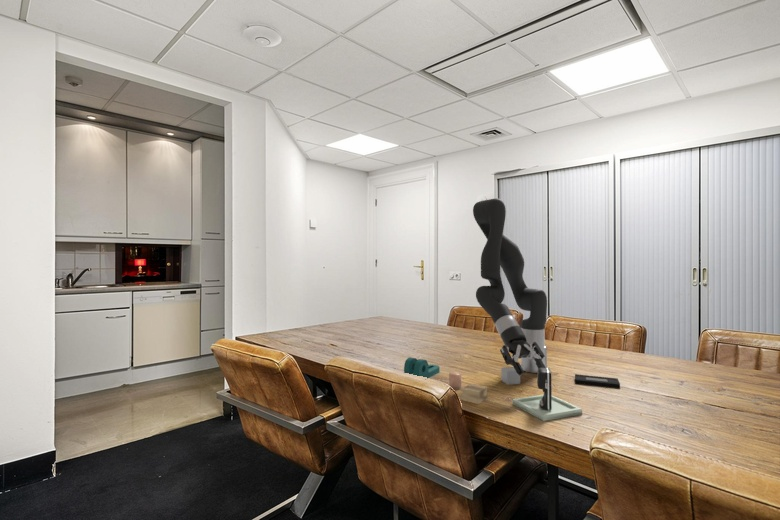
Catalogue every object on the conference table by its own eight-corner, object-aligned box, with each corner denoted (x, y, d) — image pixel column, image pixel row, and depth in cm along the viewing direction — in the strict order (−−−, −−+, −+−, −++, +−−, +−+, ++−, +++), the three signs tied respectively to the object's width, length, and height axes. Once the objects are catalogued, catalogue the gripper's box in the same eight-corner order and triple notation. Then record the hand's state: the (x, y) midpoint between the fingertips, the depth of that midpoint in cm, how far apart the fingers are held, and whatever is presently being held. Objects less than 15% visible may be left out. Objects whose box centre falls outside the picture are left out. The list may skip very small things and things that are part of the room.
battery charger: (536, 401, 127) (536, 365, 127) (549, 403, 126) (549, 366, 126) (538, 410, 120) (537, 371, 120) (551, 411, 119) (551, 372, 119)
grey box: (513, 379, 153) (513, 366, 153) (520, 384, 148) (520, 370, 148) (501, 380, 152) (501, 367, 152) (507, 384, 147) (507, 371, 147)
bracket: (419, 383, 150) (419, 361, 150) (404, 379, 154) (404, 359, 154) (442, 371, 165) (442, 352, 165) (428, 369, 169) (428, 350, 169)
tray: (548, 398, 132) (548, 393, 132) (582, 414, 119) (582, 408, 119) (512, 404, 128) (512, 399, 128) (543, 421, 114) (543, 415, 114)
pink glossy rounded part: (457, 384, 147) (457, 371, 147) (463, 388, 143) (463, 374, 143) (446, 386, 146) (446, 372, 146) (452, 390, 142) (452, 375, 142)
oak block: (470, 395, 136) (470, 383, 136) (487, 399, 133) (486, 387, 133) (461, 400, 132) (461, 388, 132) (478, 404, 128) (478, 392, 128)
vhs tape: (574, 379, 154) (574, 374, 154) (617, 383, 148) (617, 378, 148) (575, 385, 147) (575, 379, 147) (620, 390, 142) (620, 384, 142)
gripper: (497, 326, 136) (520, 369, 125) (531, 323, 141) (556, 364, 130) (488, 339, 141) (509, 381, 130) (521, 335, 146) (544, 376, 135)
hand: (532, 372), depth 130 cm, fingers open, 8 cm apart
